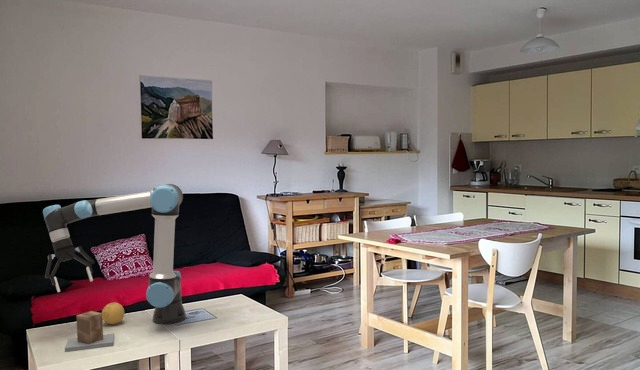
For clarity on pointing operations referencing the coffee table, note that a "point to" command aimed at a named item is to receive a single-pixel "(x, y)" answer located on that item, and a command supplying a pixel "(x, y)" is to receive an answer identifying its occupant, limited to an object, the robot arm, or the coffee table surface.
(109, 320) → the stress ball
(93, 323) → the brown wooden block
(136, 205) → the robot arm
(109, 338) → the stub plate
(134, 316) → the coffee table surface
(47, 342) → the coffee table surface
